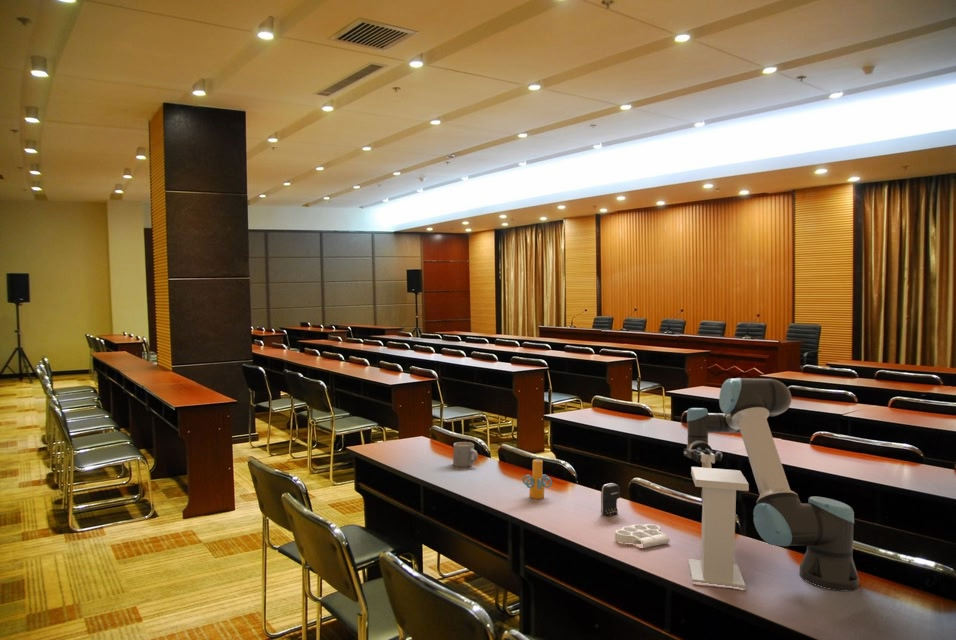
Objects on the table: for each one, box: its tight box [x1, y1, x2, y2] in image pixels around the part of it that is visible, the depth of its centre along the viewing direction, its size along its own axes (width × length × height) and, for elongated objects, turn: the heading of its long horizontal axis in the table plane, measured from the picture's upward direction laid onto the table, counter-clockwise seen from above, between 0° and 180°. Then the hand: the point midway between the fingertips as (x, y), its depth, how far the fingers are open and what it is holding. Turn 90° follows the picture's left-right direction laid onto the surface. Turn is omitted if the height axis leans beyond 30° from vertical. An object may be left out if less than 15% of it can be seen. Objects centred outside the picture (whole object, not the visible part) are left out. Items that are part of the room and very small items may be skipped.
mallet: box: [700, 454, 712, 505], centre depth 211 cm, size 6×24×4 cm, turn 167°
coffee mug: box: [452, 441, 479, 468], centre depth 309 cm, size 13×10×10 cm
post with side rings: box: [522, 459, 553, 500], centre depth 260 cm, size 12×10×15 cm
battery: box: [600, 482, 621, 517], centre depth 240 cm, size 7×4×11 cm, turn 123°
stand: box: [688, 466, 750, 590], centre depth 186 cm, size 14×15×30 cm
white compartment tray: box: [614, 523, 671, 549], centre depth 215 cm, size 3×18×15 cm
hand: (708, 458), depth 213 cm, fingers closed on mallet, 2 cm apart
